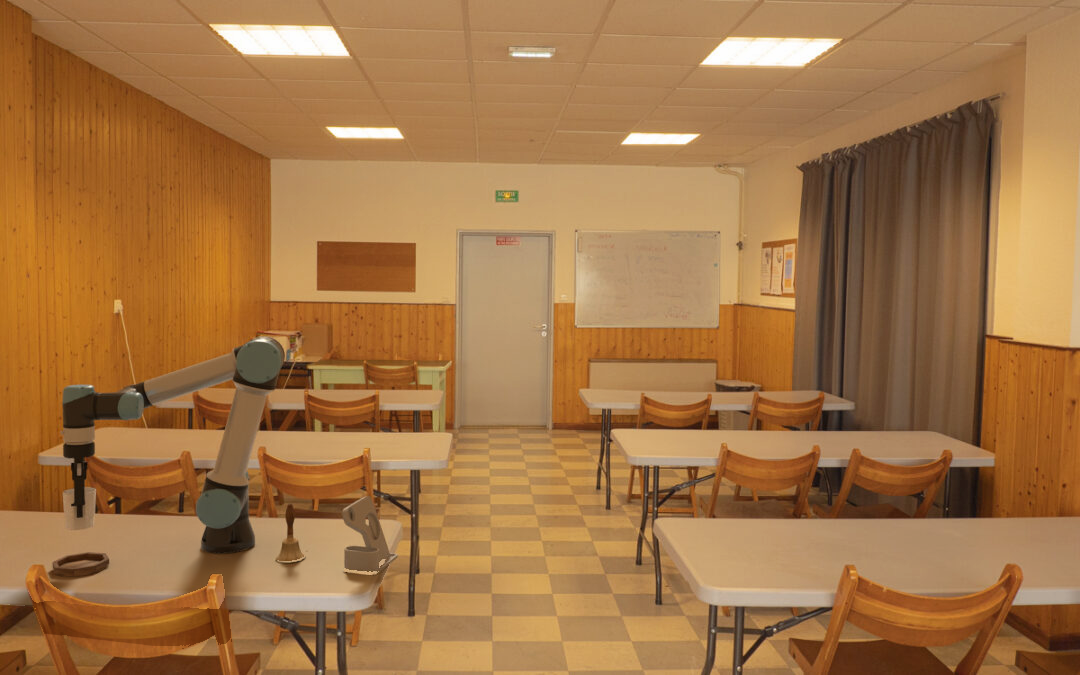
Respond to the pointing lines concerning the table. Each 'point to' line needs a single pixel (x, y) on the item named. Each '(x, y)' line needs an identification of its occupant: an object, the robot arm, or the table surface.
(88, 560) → the coaster ring
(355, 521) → the phone holder
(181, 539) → the table surface
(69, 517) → the white cup
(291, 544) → the hand bell
